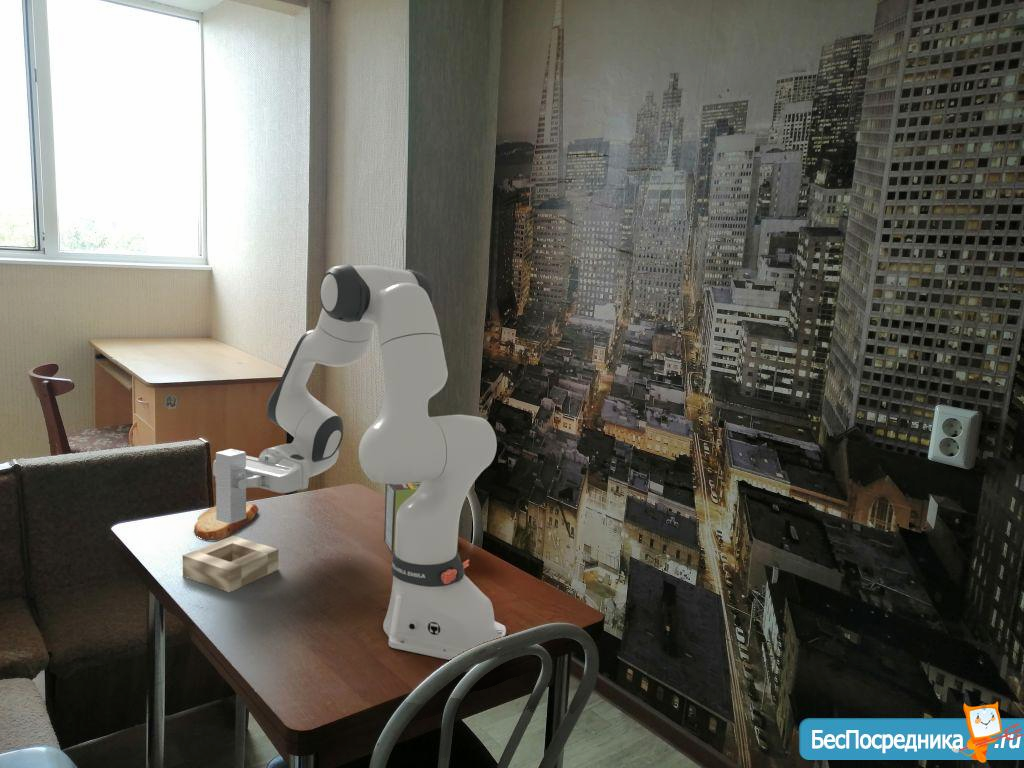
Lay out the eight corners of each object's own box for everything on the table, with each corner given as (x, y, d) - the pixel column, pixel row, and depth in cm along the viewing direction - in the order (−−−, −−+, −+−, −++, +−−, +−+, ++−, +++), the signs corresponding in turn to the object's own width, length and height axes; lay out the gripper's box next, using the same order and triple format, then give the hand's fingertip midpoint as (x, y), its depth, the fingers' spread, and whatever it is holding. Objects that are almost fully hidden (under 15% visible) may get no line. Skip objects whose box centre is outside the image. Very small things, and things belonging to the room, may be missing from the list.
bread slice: (204, 544, 168) (204, 529, 168) (176, 521, 181) (176, 506, 181) (280, 528, 180) (280, 513, 180) (248, 507, 193) (248, 493, 193)
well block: (278, 569, 157) (278, 549, 156) (229, 592, 145) (229, 570, 145) (233, 555, 162) (233, 535, 162) (182, 576, 151) (182, 555, 150)
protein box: (458, 550, 173) (461, 485, 170) (392, 556, 167) (395, 489, 164) (445, 533, 182) (448, 472, 180) (382, 539, 177) (384, 476, 174)
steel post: (246, 518, 153) (246, 452, 150) (230, 524, 149) (230, 456, 147) (231, 514, 155) (231, 448, 152) (216, 519, 151) (215, 452, 149)
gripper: (242, 444, 166) (191, 458, 154) (314, 460, 157) (265, 476, 145) (242, 472, 167) (191, 487, 155) (313, 489, 158) (265, 507, 146)
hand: (227, 482), depth 150 cm, fingers closed on steel post, 4 cm apart
